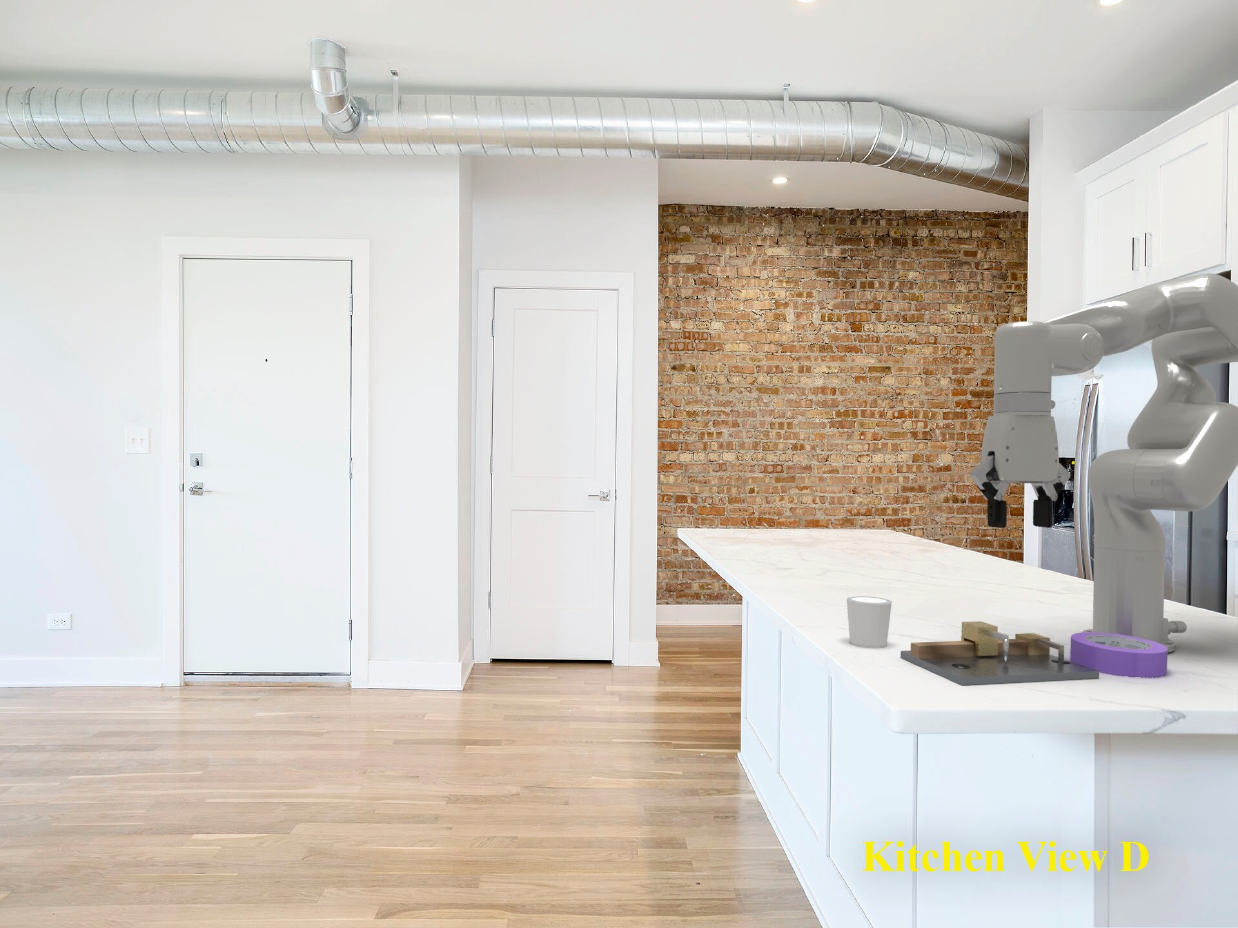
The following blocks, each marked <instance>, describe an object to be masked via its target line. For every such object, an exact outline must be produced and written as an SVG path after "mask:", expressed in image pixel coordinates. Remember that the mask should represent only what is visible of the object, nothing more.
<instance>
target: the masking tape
mask: <svg viewBox="0 0 1238 928" xmlns="http://www.w3.org/2000/svg"><path fill="white" fill-rule="evenodd" d="M1069 649H1070V651H1069V652H1070V653H1069V661H1071V662H1074V663H1077V664H1080V665H1083V666H1086V667H1089V668H1092V669H1095V670H1098V671H1099V674H1106V675H1112V676H1116V677H1117V676H1118V677H1124V676H1128V677H1127V678H1135V677H1141V678H1140V679H1155V678H1156V677H1157V678H1162V677H1161V676H1163V677H1165V676H1167V675H1166V674H1167V673H1168V653H1169V652H1168V649H1167V647H1166V646H1164V645H1162V644H1159V643H1157V642H1154V641H1150V640H1146V639H1142V638H1137V637H1132V636H1126V635H1119V634H1110V633H1095V632H1084V633H1082V632H1076V633H1073V634H1071V636H1070V648H1069ZM1143 677H1145V678H1143ZM1147 677H1148V678H1147ZM1152 677H1153V678H1152ZM1157 678H1156V679H1157Z"/></svg>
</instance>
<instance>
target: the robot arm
mask: <svg viewBox="0 0 1238 928" xmlns="http://www.w3.org/2000/svg"><path fill="white" fill-rule="evenodd" d="M997 328H998V329H996V331H995V334H994V361H993V362H994V367H993V369H994V371H993V372H994V373H993V375H994V377H993V379H994V381H993V382H994V383H993V415H989V416H988V418H987V420H986V425H985V429H984V434H983V438H982V439H983V441H982V449H981V456H980V457H981V458H980V462H979V464H977V465H976V467H975V468H974V469H972V470H970V473H969V475H970V477H971V478H972V480H973V482H974V483H975V484H976V485H977V489H978V490H979V491H980V492H981V494H982V496H983V499H984V500H987V515H986V517H987V526H988V527H990V528H998V529H1005V528H1007V519H1008V518H1007V517H1008V515H1007V513H1008V512H1007V511H1008V509H1007V508H1008V507H1007V506H1008V504H1007V503H1008V502H1007V500H1003V498H1004V497H1005V495H1006V493H1007V490H1008V488H1009V487H1010V485H1011V484H1031V488H1033V489H1032V490H1033V491H1034V493H1035V497H1037V499H1033V501H1032V505H1033V506H1032V525H1033V526H1034V527H1036V528H1037V527H1039V528H1044V529H1045V528H1047V529H1048V528H1049V529H1052V527H1053V521H1054V517H1053V515H1054V514H1053V513H1054V511H1053V510H1054V502H1056V501H1057V499H1058V495H1059V494H1060V493H1061V492H1062V491H1063V489H1064V486H1065V485H1066V484H1067V482H1068V480H1069V479H1070V478H1071V473H1070V472H1069V470H1067V469H1066V468H1065V466H1063V465H1062V463H1060V462H1059V461H1060V460H1059V457H1060V456H1059V443H1058V433H1057V427H1056V422H1055V417H1054V416H1053V415H1052V410H1053V409H1055V407H1056V401H1055V400H1053V399H1052V381H1053V380H1052V377H1061V376H1072V375H1078V374H1082V373H1086V372H1088V371H1090V370H1092V369H1093V368H1095V367H1096V366H1097V365H1098V364H1099V363H1100V362H1101V360H1102V359H1103V357H1109V356H1112V355H1116V354H1120V353H1125V352H1127V351H1129V350H1133V349H1134V348H1138V347H1139V346H1141V345H1143V344H1145V343H1147V342H1150V341H1151V348H1150V349H1151V354H1152V360H1153V366H1154V370H1155V374H1156V379H1157V380H1156V381H1157V385H1156V389H1155V390H1154V392H1153V393H1152V395H1151V396H1150V398H1149V399H1148V401H1147V403H1146V404H1145V405H1144V407H1143V408H1142V410H1141V411H1140V413H1139V414H1138V415H1137V417H1136V418H1135V419H1134V422H1132V424H1131V426H1130V428H1129V431H1128V433H1127V436H1126V437H1127V441H1126V442H1127V446H1128V448H1122V449H1114V450H1109V451H1105V452H1104V453H1102V454H1100V455H1098V456H1097V457H1096V458H1095V459H1094V460H1092V462H1091V464H1090V466H1089V470H1088V475H1087V479H1088V481H1087V482H1088V489H1089V492H1090V497H1091V502H1092V509H1093V519H1094V520H1093V523H1094V528H1093V529H1094V540H1093V541H1094V544H1093V545H1094V546H1093V547H1094V549H1093V592H1092V593H1093V595H1092V596H1093V600H1092V602H1093V604H1092V628H1091V629H1085V630H1082V631H1081V633H1084V632H1095V633H1110V634H1119V635H1126V636H1132V637H1137V638H1142V639H1146V640H1150V641H1154V642H1157V643H1159V644H1162V645H1164V646H1166V647H1167V649H1168V653H1172V652H1175V650H1176V643H1175V642H1174V641H1173V640H1171V639H1169V635H1171V634H1184V633H1186V631H1187V629H1188V627H1187V626H1188V625H1187V624H1186V623H1185V622H1184V621H1182V620H1170V621H1169V618H1166V617H1164V613H1165V612H1164V610H1165V607H1164V605H1165V568H1166V567H1165V566H1166V565H1165V562H1166V560H1165V558H1166V555H1165V554H1166V539H1165V534H1164V531H1163V529H1162V526H1161V524H1160V523H1159V522H1158V520H1157V518H1156V517H1155V515H1154V514H1153V512H1152V510H1154V511H1155V510H1157V511H1171V512H1173V511H1174V512H1198V511H1201V510H1204V509H1206V508H1208V507H1209V506H1210V505H1212V504H1213V503H1214V502H1215V500H1217V498H1218V497H1219V496H1220V494H1221V492H1222V490H1223V489H1224V488H1225V486H1226V485H1227V482H1228V481H1229V480H1230V477H1232V475H1233V473H1234V471H1235V470H1236V468H1237V467H1238V406H1237V405H1234V404H1233V403H1229V402H1225V401H1224V402H1222V401H1216V400H1217V394H1216V390H1215V388H1214V386H1212V384H1211V383H1210V381H1209V380H1208V379H1207V378H1206V377H1205V376H1204V375H1203V374H1202V373H1200V371H1199V369H1198V366H1208V365H1219V364H1229V363H1231V364H1232V363H1238V284H1236V283H1235V282H1233V281H1232V280H1230V279H1229V278H1226V277H1225V276H1222V275H1220V274H1216V273H1209V272H1208V273H1200V274H1196V275H1191V276H1185V277H1181V278H1175V279H1170V280H1165V281H1160V282H1155V283H1151V284H1148V285H1144V286H1142V287H1140V288H1138V289H1134V290H1132V291H1129V292H1127V293H1125V294H1123V295H1121V296H1118V297H1114V298H1112V299H1109V300H1107V301H1104V302H1102V303H1101V302H1100V303H1098V304H1095V305H1092V306H1088V307H1086V308H1082V309H1080V310H1076V311H1074V312H1071V313H1069V314H1065V315H1062V316H1058V317H1054V318H1052V319H1048V320H1044V321H1036V320H1031V321H1029V320H1028V321H1025V320H1024V321H1015V322H1009V323H1006V324H1003V325H1001V326H999V327H997Z"/></svg>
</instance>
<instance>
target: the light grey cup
mask: <svg viewBox="0 0 1238 928" xmlns="http://www.w3.org/2000/svg"><path fill="white" fill-rule="evenodd" d="M892 602H893V601H892V600H889V599H887V598H883V597H878V596H877V597H875V596H861V595H860V596H859V595H858V596H849V597H847V598H846V609H847V620H848V621H847V622H848V633H849V634H848V635H849V643H850V644H852V645H854V646H857V645H858V647H863V648H870V647H873V649H874V647H875V649H877V648H878V647H879V648H885V647H887V644H888V638H889V637H888V636H889V628H890V620H891V613H892ZM876 647H877V648H876ZM879 648H878V649H879Z"/></svg>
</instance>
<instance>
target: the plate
mask: <svg viewBox="0 0 1238 928" xmlns="http://www.w3.org/2000/svg"><path fill="white" fill-rule="evenodd" d="M900 659H902V660H905V661H907V662H910V663H912V664H914V665H916V666H919V667H921V668H923V669H925V670H927V671H929V670H930V671H929V672H931V673H934V674H936V675H938V676H941V677H943V678H945V679H947V680H949V679H950V681H951V682H954V683H955V684H959V685H960V686H975V685H976V686H978V685H997V684H1013V683H1016V684H1017V683H1031V682H1033V683H1034V682H1035V683H1036V682H1052V681H1053V682H1054V681H1072V680H1073V681H1074V680H1076V681H1077V680H1093V679H1100V672H1099V671H1098V670H1095V669H1092V668H1089V667H1086V666H1083V665H1080V664H1077V663H1074V662H1071V661H1070V660H1067V659H1065V658H1064V661H1059V660H1058V656H1055V655H1052V654H1046V655H1029V654H1019V655H1009V661H1003V655H995V656H972V657H948V658H925V659H918V658H916V657H914V656H911V649H910V650H900Z"/></svg>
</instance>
